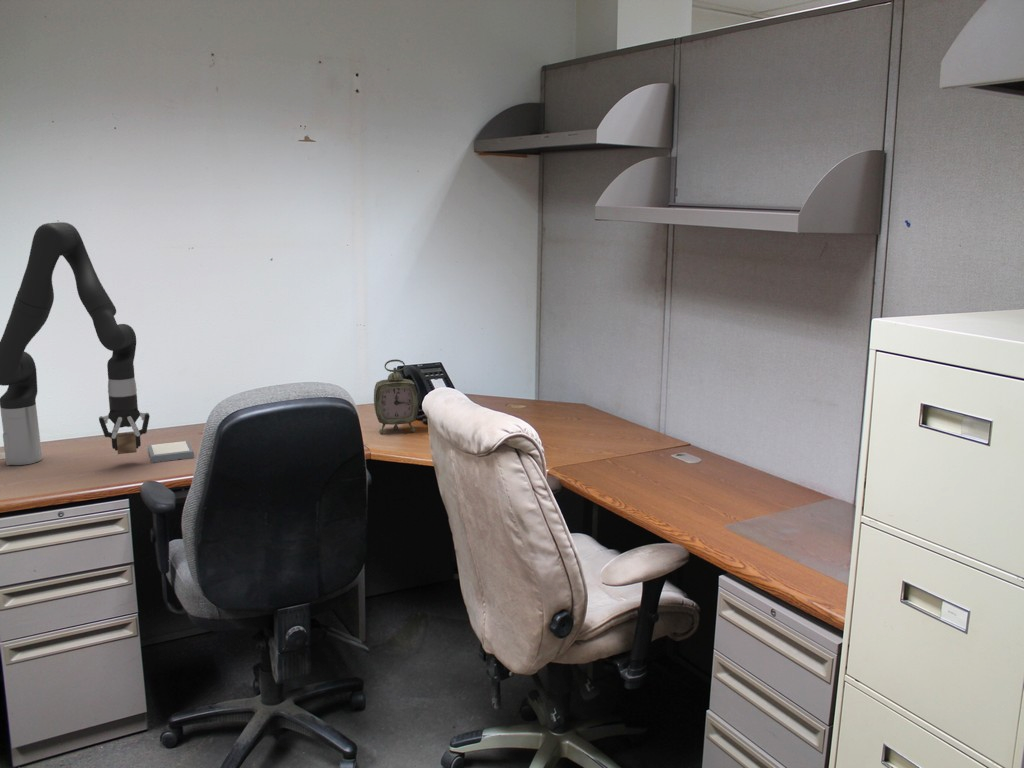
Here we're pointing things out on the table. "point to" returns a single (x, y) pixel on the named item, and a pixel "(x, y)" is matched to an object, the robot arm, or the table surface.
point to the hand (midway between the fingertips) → (126, 448)
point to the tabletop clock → (395, 400)
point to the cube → (126, 443)
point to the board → (170, 451)
